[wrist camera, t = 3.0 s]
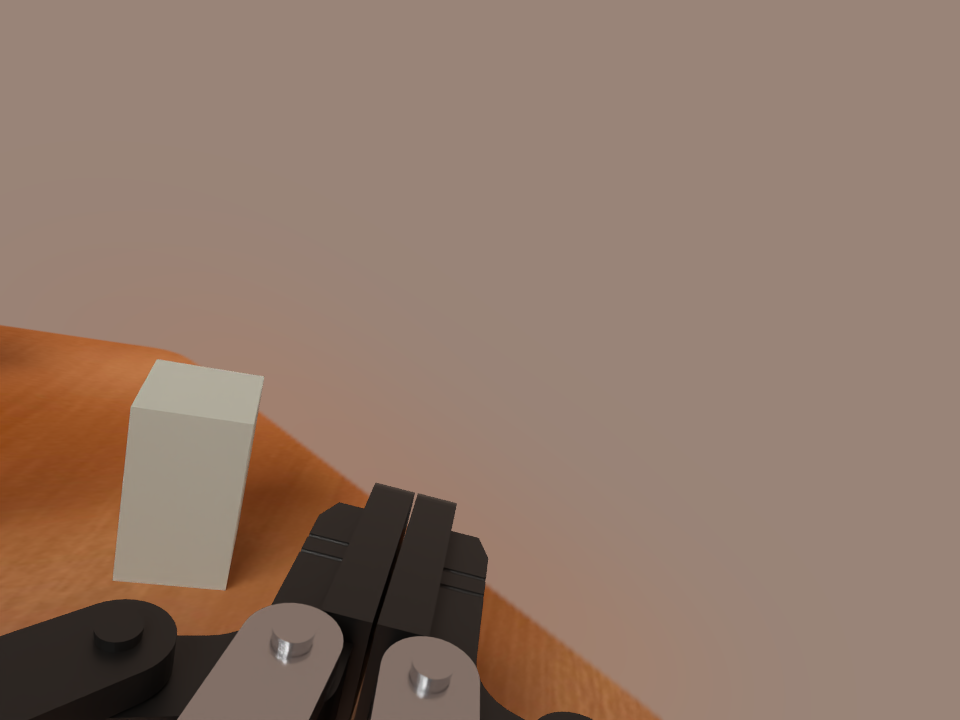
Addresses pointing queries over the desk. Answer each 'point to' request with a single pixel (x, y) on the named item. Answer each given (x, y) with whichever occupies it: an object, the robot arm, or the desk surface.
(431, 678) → the robot arm
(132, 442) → the grey block
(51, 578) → the desk surface
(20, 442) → the desk surface
